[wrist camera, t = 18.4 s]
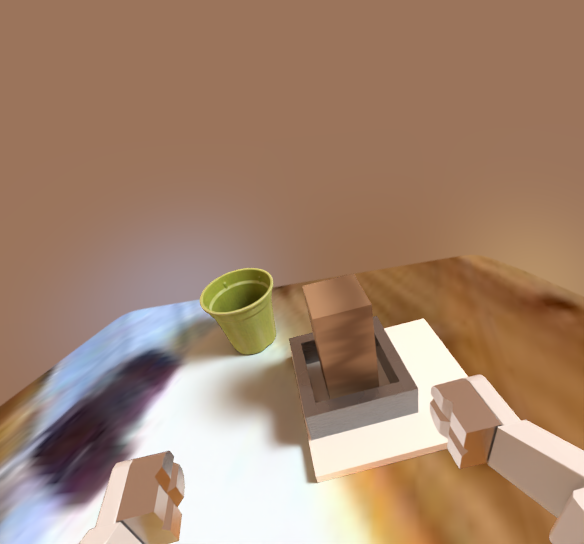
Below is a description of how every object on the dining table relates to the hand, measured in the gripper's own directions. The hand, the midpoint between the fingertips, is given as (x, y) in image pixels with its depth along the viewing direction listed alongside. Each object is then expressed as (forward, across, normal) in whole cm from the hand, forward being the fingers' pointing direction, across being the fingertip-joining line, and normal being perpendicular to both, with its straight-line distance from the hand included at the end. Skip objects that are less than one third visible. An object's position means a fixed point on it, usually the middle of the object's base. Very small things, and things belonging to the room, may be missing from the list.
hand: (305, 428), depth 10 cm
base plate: (+16, -8, +22) cm, 28 cm away
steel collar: (+17, -5, +22) cm, 28 cm away
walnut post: (+17, -5, +21) cm, 28 cm away
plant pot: (+29, +5, +22) cm, 37 cm away
